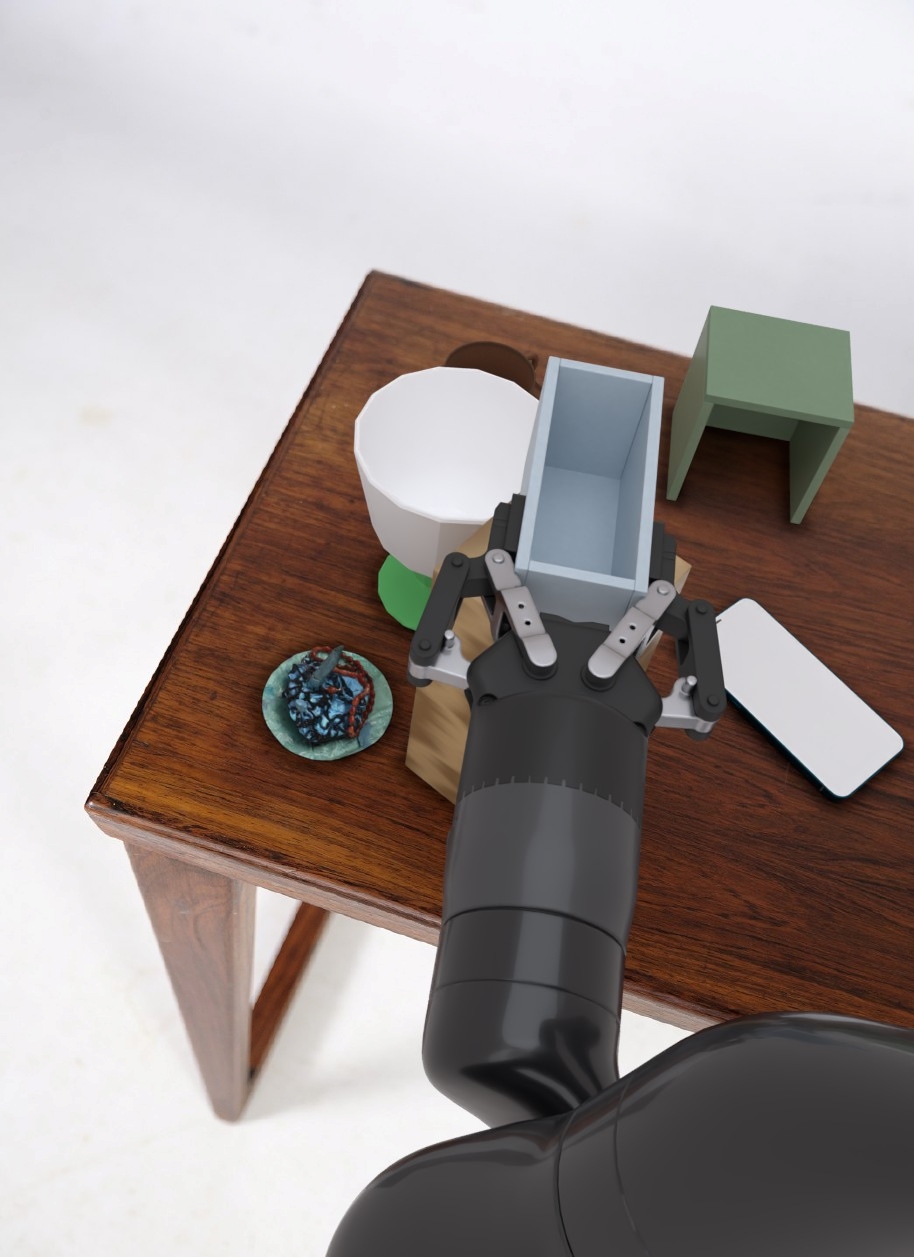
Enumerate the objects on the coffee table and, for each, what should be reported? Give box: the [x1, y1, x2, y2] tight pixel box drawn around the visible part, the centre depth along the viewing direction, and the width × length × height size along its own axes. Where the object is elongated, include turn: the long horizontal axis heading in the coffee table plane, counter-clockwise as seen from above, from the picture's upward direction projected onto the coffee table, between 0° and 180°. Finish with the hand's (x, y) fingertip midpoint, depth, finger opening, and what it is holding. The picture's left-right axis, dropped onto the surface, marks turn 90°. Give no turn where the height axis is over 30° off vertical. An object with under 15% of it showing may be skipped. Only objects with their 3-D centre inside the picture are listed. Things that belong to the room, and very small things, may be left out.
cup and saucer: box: [439, 340, 542, 400], centre depth 97 cm, size 12×12×6 cm
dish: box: [261, 644, 394, 761], centre depth 82 cm, size 8×7×8 cm
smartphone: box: [715, 597, 906, 803], centre depth 87 cm, size 8×1×16 cm
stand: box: [404, 493, 692, 806], centre depth 73 cm, size 10×10×22 cm
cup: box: [353, 366, 539, 631], centre depth 83 cm, size 14×14×16 cm
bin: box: [514, 355, 665, 631], centre depth 60 cm, size 14×6×8 cm, turn 171°
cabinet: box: [666, 304, 855, 525], centre depth 95 cm, size 10×11×12 cm
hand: (584, 519), depth 57 cm, fingers closed on bin, 6 cm apart
